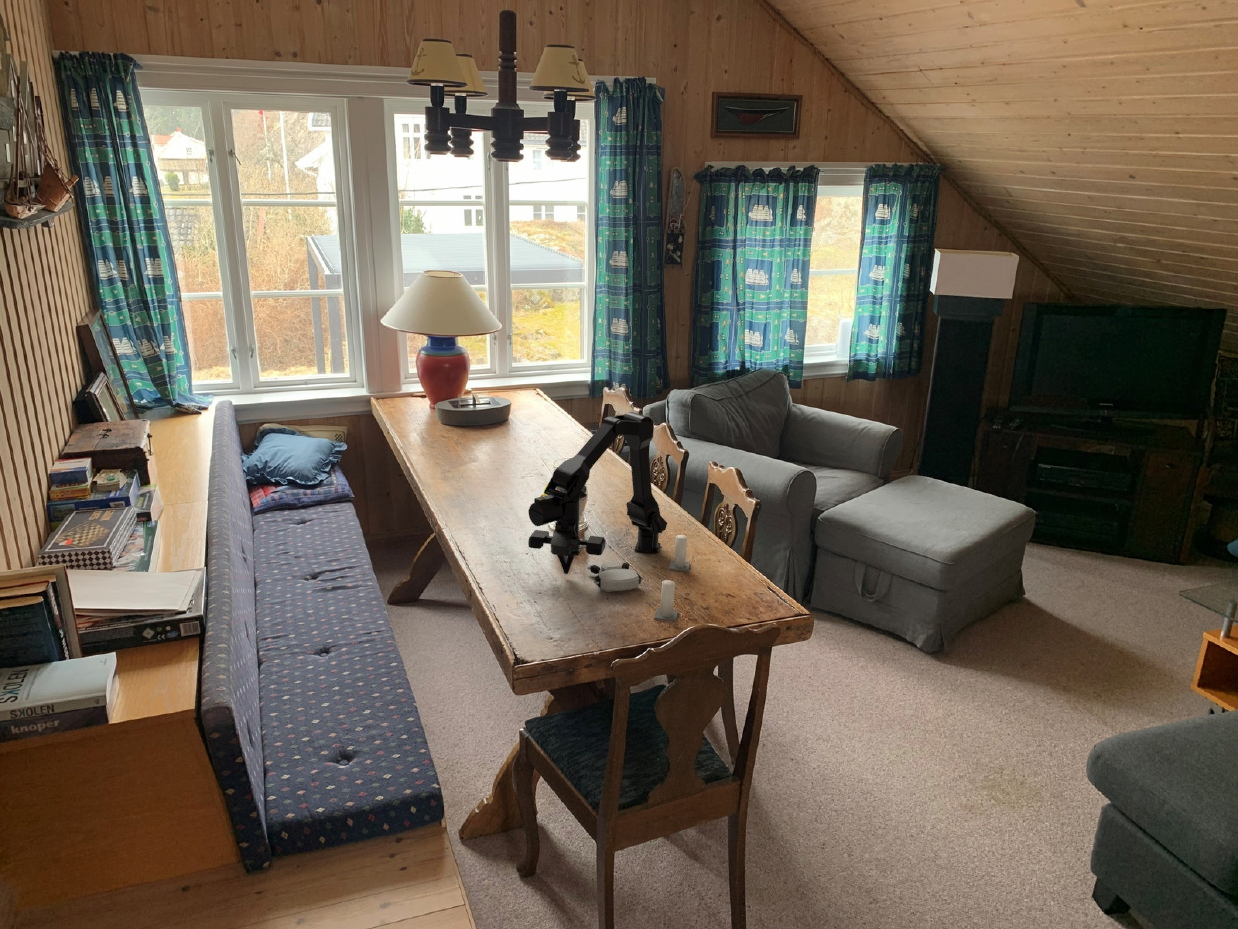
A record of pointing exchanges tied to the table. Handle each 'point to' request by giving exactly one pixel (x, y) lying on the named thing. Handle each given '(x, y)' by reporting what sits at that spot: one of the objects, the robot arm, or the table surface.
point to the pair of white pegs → (668, 586)
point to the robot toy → (615, 576)
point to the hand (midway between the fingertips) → (566, 573)
